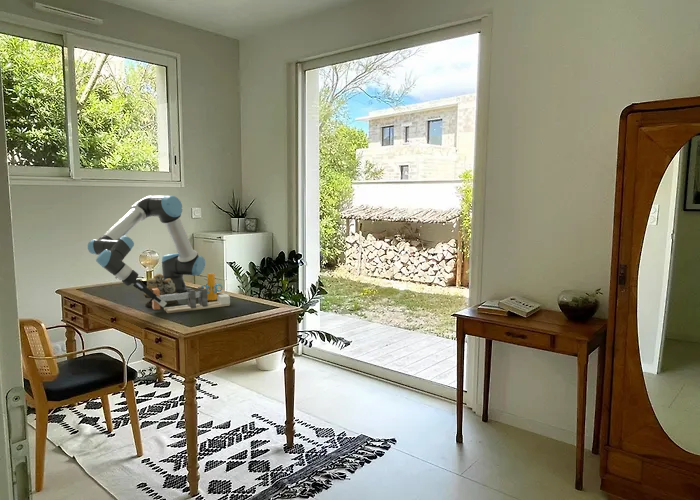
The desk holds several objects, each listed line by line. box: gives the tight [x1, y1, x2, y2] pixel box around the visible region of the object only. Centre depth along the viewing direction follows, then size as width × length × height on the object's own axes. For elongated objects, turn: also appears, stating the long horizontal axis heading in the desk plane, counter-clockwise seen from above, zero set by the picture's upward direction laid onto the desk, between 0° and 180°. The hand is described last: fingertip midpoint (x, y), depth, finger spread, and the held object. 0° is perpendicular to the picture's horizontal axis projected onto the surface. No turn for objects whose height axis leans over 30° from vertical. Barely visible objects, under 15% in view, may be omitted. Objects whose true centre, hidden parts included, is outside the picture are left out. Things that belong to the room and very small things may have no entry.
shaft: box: [152, 288, 202, 311], centre depth 247 cm, size 4×24×10 cm, turn 122°
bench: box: [163, 286, 231, 314], centre depth 253 cm, size 9×32×10 cm, turn 122°
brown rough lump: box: [143, 273, 179, 309], centre depth 259 cm, size 18×12×17 cm, turn 134°
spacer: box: [216, 293, 231, 305], centre depth 260 cm, size 7×5×4 cm
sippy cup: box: [200, 272, 223, 302], centre depth 272 cm, size 12×10×15 cm
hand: (163, 304), depth 244 cm, fingers closed on shaft, 4 cm apart
